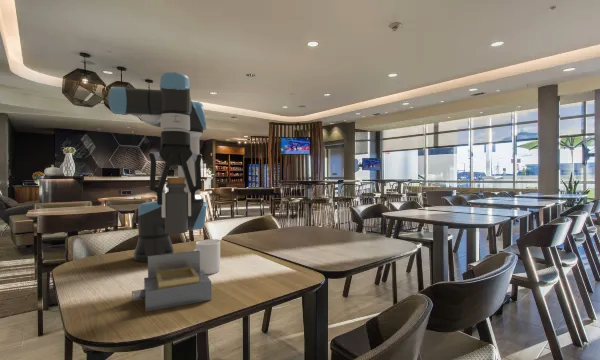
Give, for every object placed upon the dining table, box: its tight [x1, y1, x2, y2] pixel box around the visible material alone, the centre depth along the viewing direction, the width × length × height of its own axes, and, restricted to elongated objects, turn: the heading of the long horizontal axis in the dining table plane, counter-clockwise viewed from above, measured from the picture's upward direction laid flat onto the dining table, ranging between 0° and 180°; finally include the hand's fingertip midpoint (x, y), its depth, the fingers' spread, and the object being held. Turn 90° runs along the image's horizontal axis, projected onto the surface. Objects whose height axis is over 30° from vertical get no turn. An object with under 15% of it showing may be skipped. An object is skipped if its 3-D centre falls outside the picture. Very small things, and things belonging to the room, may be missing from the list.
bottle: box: [164, 176, 189, 235], centre depth 88 cm, size 6×6×15 cm
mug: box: [193, 239, 221, 276], centre depth 111 cm, size 12×8×10 cm
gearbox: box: [131, 250, 212, 313], centre depth 87 cm, size 12×19×11 cm, turn 117°
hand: (176, 216), depth 88 cm, fingers closed on bottle, 6 cm apart
